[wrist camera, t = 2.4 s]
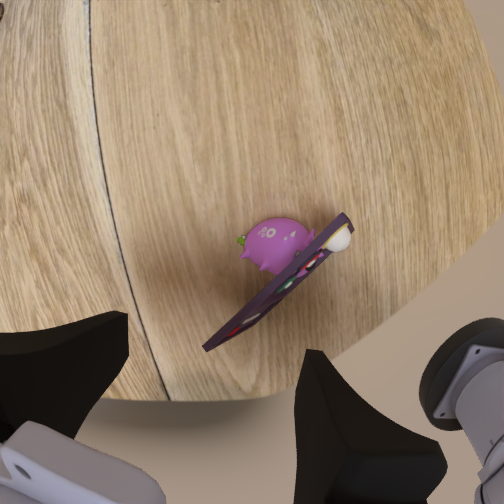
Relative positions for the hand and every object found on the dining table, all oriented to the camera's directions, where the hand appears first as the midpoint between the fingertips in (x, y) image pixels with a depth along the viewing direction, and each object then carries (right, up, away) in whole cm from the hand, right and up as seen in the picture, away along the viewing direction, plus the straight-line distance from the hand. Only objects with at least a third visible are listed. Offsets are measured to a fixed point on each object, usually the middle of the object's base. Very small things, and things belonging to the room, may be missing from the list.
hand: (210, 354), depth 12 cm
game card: (+3, +4, +8) cm, 10 cm away
